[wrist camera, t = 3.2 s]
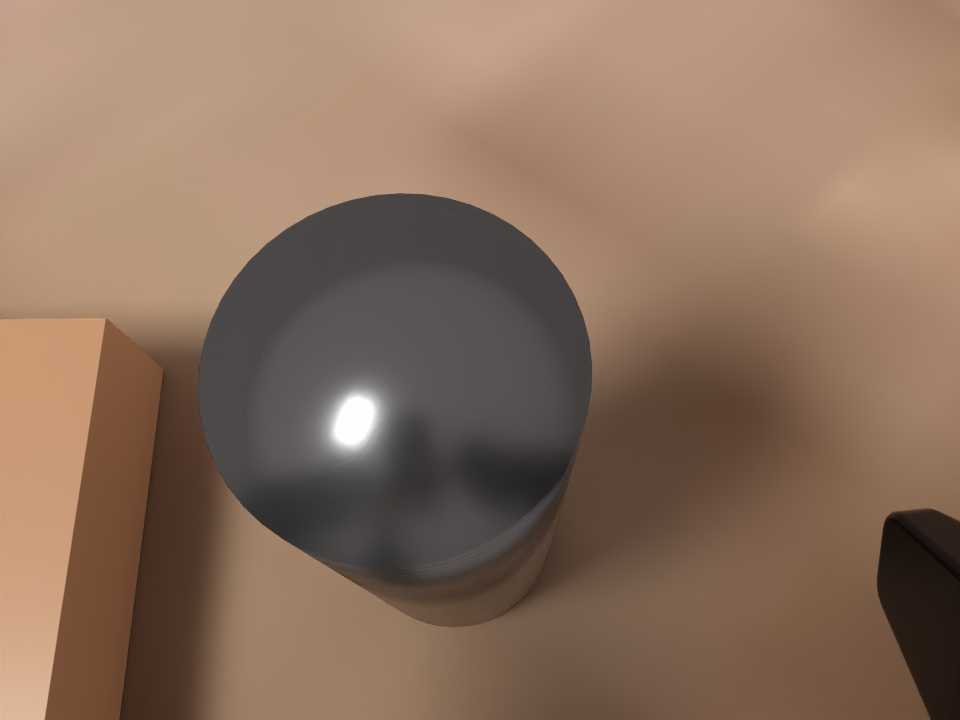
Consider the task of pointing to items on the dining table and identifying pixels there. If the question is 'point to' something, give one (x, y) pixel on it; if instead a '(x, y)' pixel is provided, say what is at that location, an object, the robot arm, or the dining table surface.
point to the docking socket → (71, 512)
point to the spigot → (402, 400)
